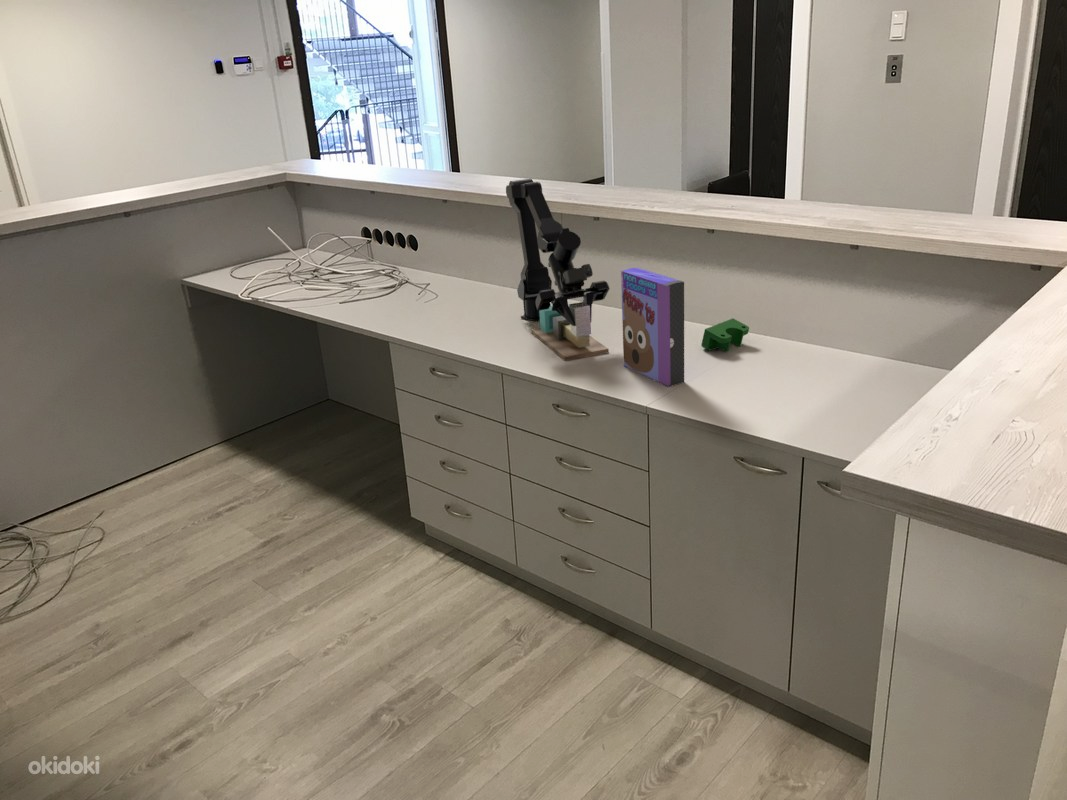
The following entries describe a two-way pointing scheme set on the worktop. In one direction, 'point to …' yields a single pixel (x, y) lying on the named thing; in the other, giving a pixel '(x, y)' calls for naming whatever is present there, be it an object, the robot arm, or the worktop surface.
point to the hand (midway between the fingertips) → (582, 323)
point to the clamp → (724, 335)
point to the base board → (569, 346)
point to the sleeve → (558, 327)
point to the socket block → (547, 319)
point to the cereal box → (653, 325)
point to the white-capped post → (578, 325)
